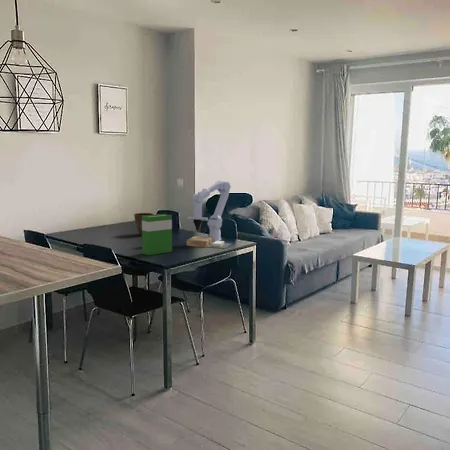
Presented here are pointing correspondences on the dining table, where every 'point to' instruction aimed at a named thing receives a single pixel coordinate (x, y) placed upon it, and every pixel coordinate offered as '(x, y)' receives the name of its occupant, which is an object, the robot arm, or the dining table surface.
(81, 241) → the dining table surface
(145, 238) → the green cereal box
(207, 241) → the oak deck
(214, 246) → the charcoal mat
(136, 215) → the plant pot
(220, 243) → the cream tile
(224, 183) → the robot arm
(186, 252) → the dining table surface
